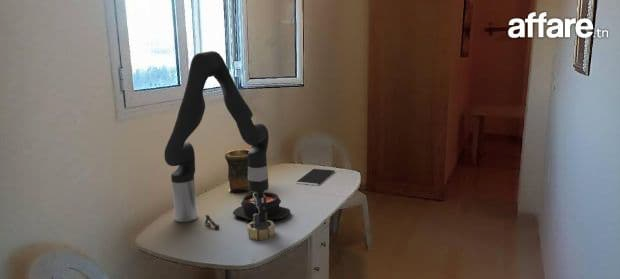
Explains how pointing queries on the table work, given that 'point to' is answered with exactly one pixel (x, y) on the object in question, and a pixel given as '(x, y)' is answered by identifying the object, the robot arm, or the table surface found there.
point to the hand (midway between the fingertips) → (260, 218)
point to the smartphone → (315, 177)
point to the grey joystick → (257, 224)
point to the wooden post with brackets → (211, 222)
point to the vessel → (238, 171)
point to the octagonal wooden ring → (261, 231)
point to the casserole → (271, 206)
